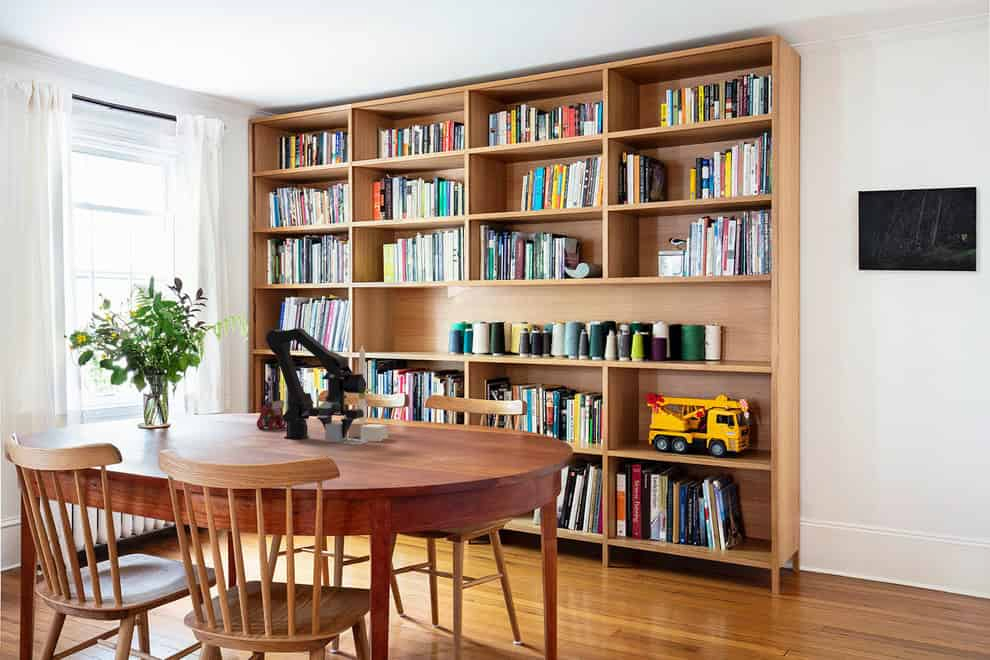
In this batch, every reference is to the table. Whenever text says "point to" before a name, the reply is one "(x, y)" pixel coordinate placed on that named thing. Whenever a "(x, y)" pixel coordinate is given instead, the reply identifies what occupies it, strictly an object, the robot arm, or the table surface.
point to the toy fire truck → (272, 415)
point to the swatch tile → (355, 441)
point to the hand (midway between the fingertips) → (336, 437)
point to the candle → (363, 396)
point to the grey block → (334, 432)
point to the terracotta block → (355, 429)
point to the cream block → (374, 432)
